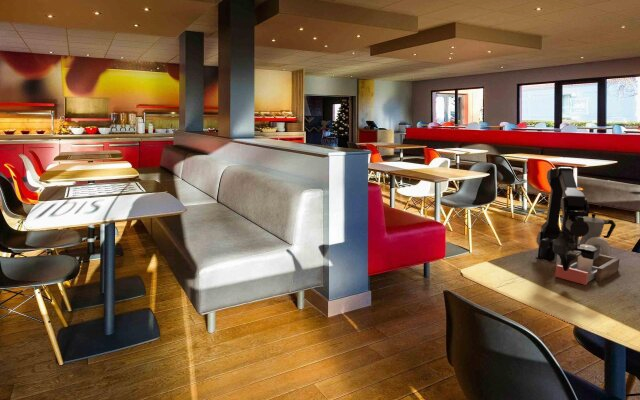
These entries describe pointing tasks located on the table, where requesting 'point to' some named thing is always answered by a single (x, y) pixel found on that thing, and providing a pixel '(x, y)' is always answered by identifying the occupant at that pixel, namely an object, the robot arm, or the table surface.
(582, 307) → the table surface
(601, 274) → the slot
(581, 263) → the canister
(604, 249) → the donut
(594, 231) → the coffeepot
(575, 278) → the tray
